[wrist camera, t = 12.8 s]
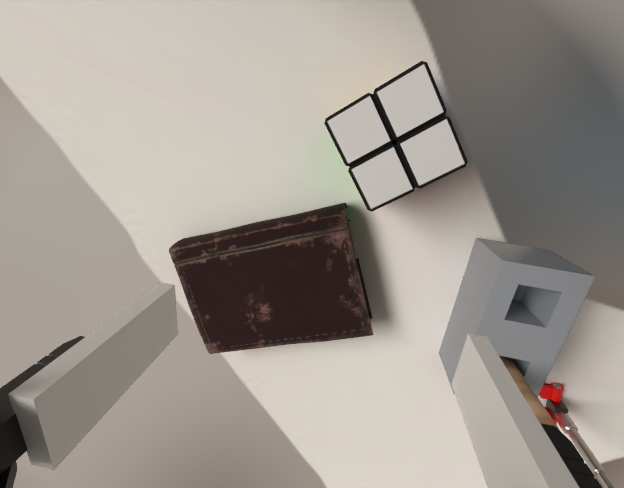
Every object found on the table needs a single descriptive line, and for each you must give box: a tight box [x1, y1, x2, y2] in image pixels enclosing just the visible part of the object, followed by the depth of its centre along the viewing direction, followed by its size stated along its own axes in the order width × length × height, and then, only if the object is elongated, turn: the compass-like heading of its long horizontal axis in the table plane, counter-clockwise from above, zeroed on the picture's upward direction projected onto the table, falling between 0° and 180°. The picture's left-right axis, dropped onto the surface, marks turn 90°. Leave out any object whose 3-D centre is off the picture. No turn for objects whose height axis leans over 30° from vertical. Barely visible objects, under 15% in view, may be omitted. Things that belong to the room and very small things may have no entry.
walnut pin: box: [499, 356, 559, 430], centre depth 35 cm, size 3×3×14 cm
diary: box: [169, 203, 373, 354], centre depth 44 cm, size 19×25×5 cm
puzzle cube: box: [325, 61, 467, 211], centre depth 33 cm, size 10×10×10 cm
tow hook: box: [539, 383, 614, 488], centre depth 40 cm, size 8×13×9 cm
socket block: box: [439, 238, 595, 397], centre depth 38 cm, size 18×9×8 cm, turn 172°
